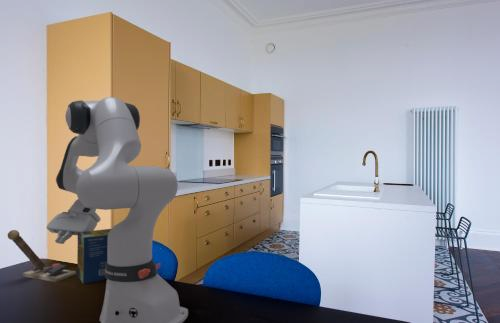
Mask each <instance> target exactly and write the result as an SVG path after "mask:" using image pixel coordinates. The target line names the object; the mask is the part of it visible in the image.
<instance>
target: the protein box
mask: <svg viewBox="0 0 500 323" xmlns="http://www.w3.org/2000/svg"><path fill="white" fill-rule="evenodd" d="M111 229H112V228H106V229H96V230H95V229H94V231H86V232H78V235H77V253H76V254H77V256H76V257H77V263H76V264H77V266H76V270H77V271H76V275H77V277H78V278H79V280H80V282H81V283H82V285H84V284H90V282H91V283H94V281H96V282H100V281H99V280H101V281H105V280H104V279H107V278H106V277H105V265H106V262H107V244H108V234H109V232H110V230H111Z"/></svg>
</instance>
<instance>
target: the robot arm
mask: <svg viewBox="0 0 500 323" xmlns="http://www.w3.org/2000/svg"><path fill="white" fill-rule="evenodd" d="M140 116H141V115H140V112H139V109H138V107H136V105H134V104H131V103H127V102H124V101H123V100H122V99H120V98H118V97H115V96H114V97H113V96H110V97H109V96H108V97H104V98H102V99H101V100H86V101H85V100H82V99H81V100H75V101H71V102H70V103H69V104H68V106H67V109H66V111H65V122H66V125H67V127H68V130H70V132H71V133H73V134H76V136H74V137H73V138H72V139H71V140H70V141H69V142H68V143H67V146H66V148H65V149H66V150H65V152H64V155H63V159H62V161H61V162H62V163H61V165H60V169H59V171H58V173H57V175H56V177H55V182H56V185H57V187H58V189H60V190H61V191H66V192H69V193H72V194H75V195H76V197H77V199H75V201H74V202H73V203H72V204H71V206H70V207H69V209H67V211H62V212H61V213H58V214H57V215H55V216H54V217H53V218H52V219H51V220H50V221H49V222H48V223H47V225H46V230H48V231H49V232H50V233H51V234H57V237H56V239H55V240H54V242H55V243H56V244H61V245H63V244H65V243H66V241H67V240H69V239H71V237H72V236H78V232H86V231H95V229H96V227H97V226H98V223H100V222H101V217H100V216H99V215H98V213H97V212H96V210H102V211H103V210H105V211H107V210H120V209H129V212H128V213H127V216H126V217H125V218H124V219H123V220H122V221H120V222H118V223H117V224H115V225H114V226H113V227H112V228H110V229H111V230H110V232H109V234H108V244H107V262H106V265H105V277H106V278H107V280H106V284H105V293H104V299H103V304H102V309H101V313H100V316H99V322H100V323H184V322H185V320H186V319H187V318H188V316H189V309H188V308H186V307H183V306H180V300H179V294H178V291H177V290H176V289H175V288H174V287H172V286H171V284H169V283H168V282H167V281H166V280H165V279H163V277H162V276H160V275H159V274H158V273H159V272H158V269H160V268H161V262H158V263H155V261H154V258H153V239H154V232H155V231H154V230H155V226H156V223H157V221H158V218H159V217H160V215H161V213H162V212H163V210H164V209H165V207H167V206H168V204H169V203H171V202H173V200H174V198H175V197H176V196H177V193H178V190H179V189H178V188H179V184H178V179H177V176H176V175H175V172H173V171H172V170H171V169H169V168H165V167H161V166H155V165H152V166H151V165H150V166H149V165H147V166H146V165H144V166H142V165H135V166H134V165H129V164H130V163H131V162H133V161H134V160H136V159H137V157H138V156H139V155H140V153H141V150H142V149H141V148H142V144H141V140H140V136H139V133H138V130H139V128H140V124H141V117H140ZM79 157H87V158H88V157H89V158H94V157H95V158H96V157H97V159H96V160H95V162H94V163H93V164H92V165H91V166H90V167H88V168H86V169H81V168H79V167H78V165H77V163H78V160H79Z"/></svg>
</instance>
